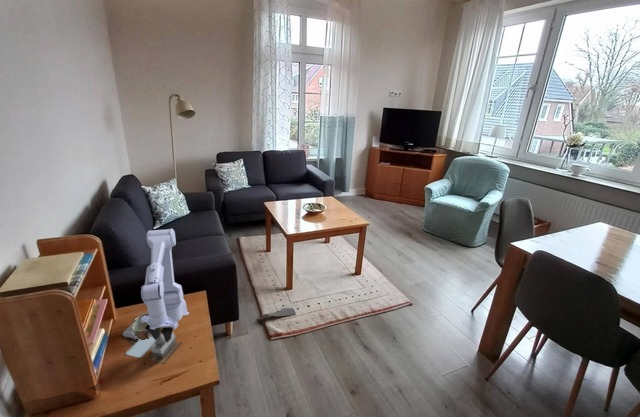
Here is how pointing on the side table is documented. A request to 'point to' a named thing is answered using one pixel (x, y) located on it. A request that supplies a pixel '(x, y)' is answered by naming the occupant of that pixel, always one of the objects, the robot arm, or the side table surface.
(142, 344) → the bluegrey stand
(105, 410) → the side table surface
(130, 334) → the stone block
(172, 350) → the walnut stand
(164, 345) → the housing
